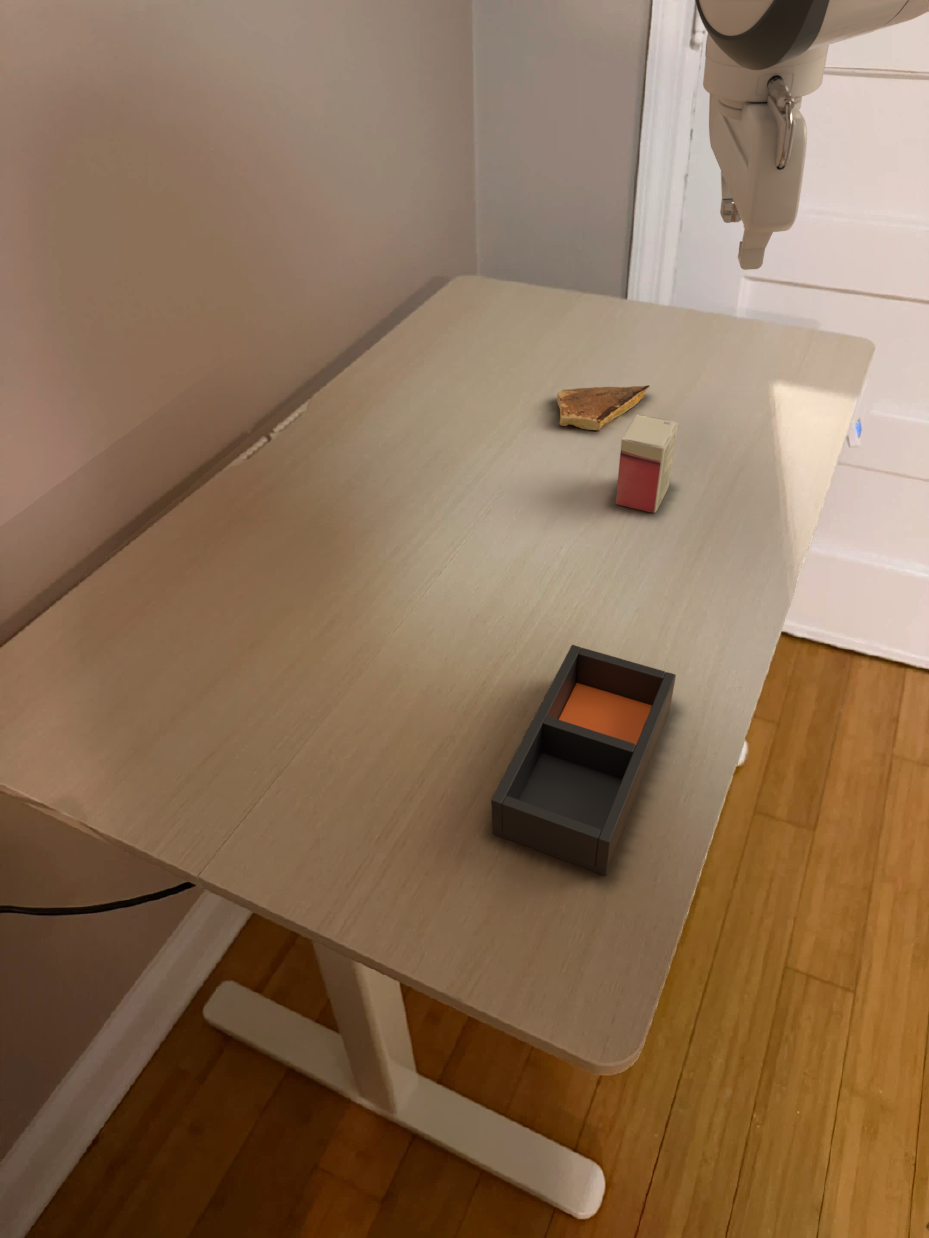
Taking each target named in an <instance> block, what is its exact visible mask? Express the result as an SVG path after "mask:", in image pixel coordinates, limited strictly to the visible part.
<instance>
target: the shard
mask: <svg viewBox="0 0 929 1238" xmlns="http://www.w3.org/2000/svg"><path fill="white" fill-rule="evenodd" d="M649 388H650V385H640V386H639V385H637V386H636V385H633V386H600V387H599V386H594V387H579V388H571V389H570V388H568V389H561V390H559V391H558V392H557V396H556V397H557V399H556V403H557V406H558V408H559V426H562V427H563V426H564V427H567V426H568V425H570V426H574V427H576V428H580V429H582V430H587V431H600V429H601V428H602V427H603V426H604V425H606V424H609V423H610V422H612V421H613V420H614V419H616V418H617V417H620V416H622V415H624V414H625V413H626V412H627V411H629V410H630V409H632V408H634V407H635V406H637V404H638V403H640V401H641V400H642V399H643V398H644V397H645V394H646V391H648V390H649Z"/></svg>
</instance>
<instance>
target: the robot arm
mask: <svg viewBox="0 0 929 1238" xmlns="http://www.w3.org/2000/svg"><path fill="white" fill-rule="evenodd" d="M694 1H695V4H696V10H697V12H698V16H699V17H700V20H701V23H702V25H703V26H704V29H705V30H706V32H707V34H706V41H705V51H704V52H705V53H704V56H705V59H704V70H703V78H702V79H703V80H702V86H703V89H704V90H705V92H707V93H708V94H709V103H708V134H709V135H708V136H709V144H710V148H711V150H712V153H713V155H714V157H715V160H716V162H717V164H718V167H719V169H720V186H721V187H720V188H721V201H720V211H719V214H720V216H721V218H722V220H723V223H726V224H730V223H740V222H742V224H743V235H742V241H741V240H740V241H739V244H738V245H739V246H738V254H737V260H738V263H739V266H740V269H742V270H744V271H747V270H758V269H760V268H761V267H762V266H763V264H764V258H765V252H766V248H767V246H768V244H769V242H770V240H771V237H772V235H773V233H778V232H779V233H780V232H786V231H789V230H791V228H792V227H793V225H794V224H795V221H796V219H797V216H798V211H799V206H800V199H801V193H802V186H803V179H804V178H803V177H804V171H805V162H806V155H807V154H806V153H807V144H808V143H807V141H808V127H807V122H806V119H805V117H804V116H803V114H802V113H801V111H800V110H801V107H802V100H803V97H805V96H809V95H810V94H813V93H814V92H816V91H817V90H819V89H820V87H821V86H822V84H823V81H824V80H823V79H824V75H825V68H826V62H827V57H828V52H829V47H830V45H832V44H836V43H839V42H843V41H846V40H850V39H853V38H854V39H855V38H857V37H861V36H863V35H868V34H871V33H873V32H876V31H879V30H883V29H886V28H889V27H894V26H896V25H900V24H902V23H905V22H908V21H912V20H914V19H917V18H918V17H920V16H922V15H924V14H926V13H929V0H694Z"/></svg>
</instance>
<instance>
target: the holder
mask: <svg viewBox="0 0 929 1238" xmlns="http://www.w3.org/2000/svg"><path fill="white" fill-rule="evenodd" d="M676 676H677V675H676V674H675V673H672V672H669V671H665V670H662V669H658V668H656V667H655V668H654V667H651V666H649V665H644V664H641V663H637V662H634V661H630V660H626V659H623V658H620V657H616V656H613V655H609V654H606V653H602V652H598V651H595V650H592V649H589V648H585V647H581V646H579V645H575V644H571V646H570V648H569V650H568V651H567V653H566V656H565V657H564V659H563V660H562V662H561V664H560V667H559V669H558V670H557V673H556V674H555V677H554V679H553V680H552V682H551V684H550V685H549V688H548V690H547V691H546V694H545V696H544V697H543V700H542V701H541V703H540V705H539V707H538V709H537V711H536V712H535V714H534V717H533V719H532V720H531V722H530V725H529V726H528V728H527V730H526V731H525V734H524V736H523V738H522V740H521V742H520V744H519V746H518V747H517V749H516V751H515V753H514V755H513V757H512V759H511V761H510V763H509V765H508V767H507V769H506V770H505V772H504V774H503V776H502V778H501V780H500V782H499V784H498V786H497V787H496V790H495V792H494V793H493V795H492V797H491V800H490V804H491V806H490V807H491V827H492V829H491V831H492V834H494V835H497V836H499V837H501V838H504V839H507V840H509V841H513V842H515V843H518V844H520V845H523V846H526V847H528V848H531V849H532V850H533V849H534V850H536V851H539V852H542V853H544V854H547V855H550V856H552V857H555V858H558V859H559V860H563V861H566V862H568V863H571V864H574V865H576V866H579V867H582V868H584V869H587V870H590V871H593V872H594V873H598V874H600V875H603V876H606V875H607V874H608V871H609V868H610V865H611V863H612V860H613V858H614V855H615V853H616V850H617V848H618V845H619V843H620V839H621V836H622V835H623V832H624V829H625V827H626V824H627V822H628V819H629V817H630V815H631V811H632V809H633V807H634V803H635V801H636V798H637V796H638V793H639V791H640V788H641V785H642V783H643V780H644V777H645V775H646V772H647V769H648V768H649V765H650V762H651V759H652V757H653V755H654V751H655V749H656V747H657V743H658V741H659V739H660V736H661V733H662V732H663V728H664V725H665V724H666V720H667V719H668V715H669V713H670V710H671V704H672V699H673V694H674V688H675V684H676V683H675V682H676V678H677V677H676Z"/></svg>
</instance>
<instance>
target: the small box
mask: <svg viewBox="0 0 929 1238" xmlns="http://www.w3.org/2000/svg"><path fill="white" fill-rule="evenodd" d="M678 425H679V422H678V421H674V420H669V419H664V418H658V417H653V416H649V415H643V414H635V416H634V418H633V419H632V420H631V422H630V424H629V426H628V427H627V429H626V430H625V432H624V434H623V436H622V438H621V441H620V442H621V443H620V453H619V464H618V474H617V485H616V497H615V504H616V505H618V506H623V507H627V508H630V509H635V510H639V511H644V512H647V513H652V514H656V513H657V511H658V509H659V507H660V505H661V503H662V502H663V500H664V497H665V496H666V493H667V491H668V489H669V486H670V478H671V472H672V466H673V459H674V452H675V446H676V445H675V444H676V438H677V431H678Z"/></svg>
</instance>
